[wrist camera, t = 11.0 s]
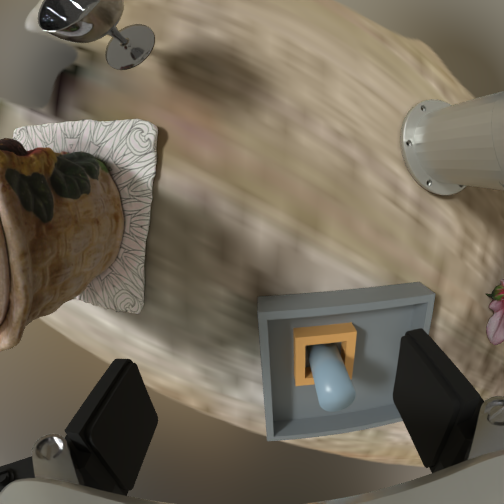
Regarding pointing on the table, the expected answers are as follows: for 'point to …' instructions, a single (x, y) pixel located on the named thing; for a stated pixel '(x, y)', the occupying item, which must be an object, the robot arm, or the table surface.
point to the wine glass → (97, 28)
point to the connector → (330, 377)
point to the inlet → (321, 336)
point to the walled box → (365, 360)
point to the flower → (496, 315)
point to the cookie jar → (73, 218)
